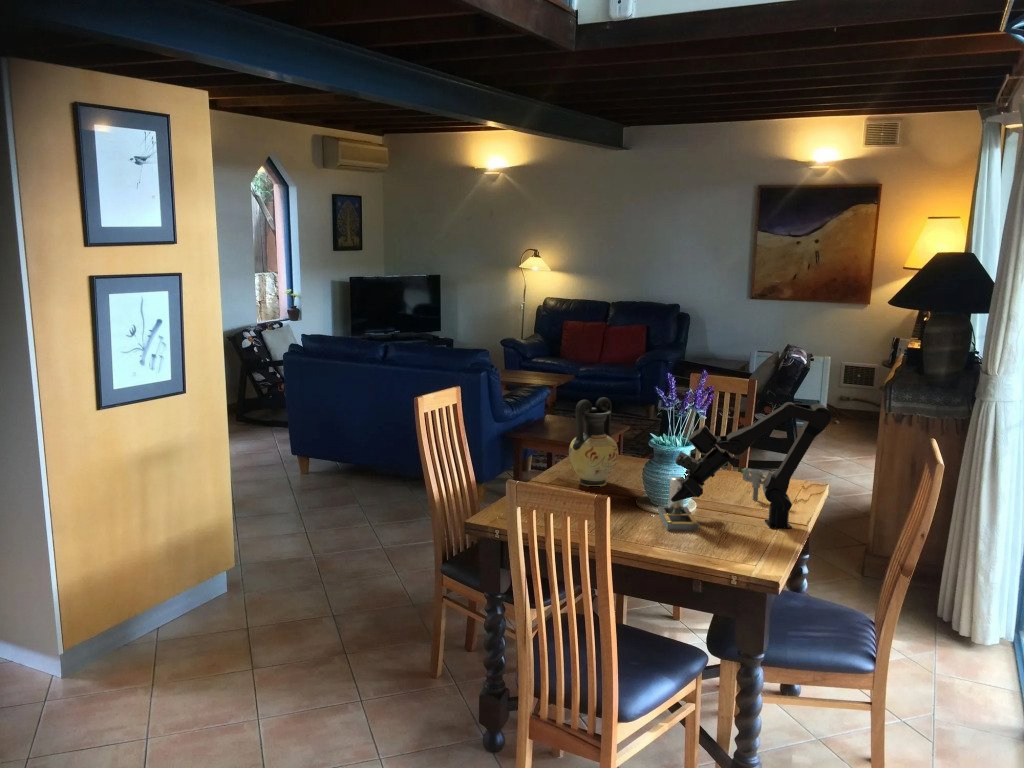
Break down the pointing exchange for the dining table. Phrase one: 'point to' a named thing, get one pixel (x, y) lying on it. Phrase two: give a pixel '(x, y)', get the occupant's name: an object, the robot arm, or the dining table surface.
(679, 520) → the grey tray
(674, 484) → the steel peg
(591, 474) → the amphora
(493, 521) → the dining table surface
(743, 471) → the mechanical component
